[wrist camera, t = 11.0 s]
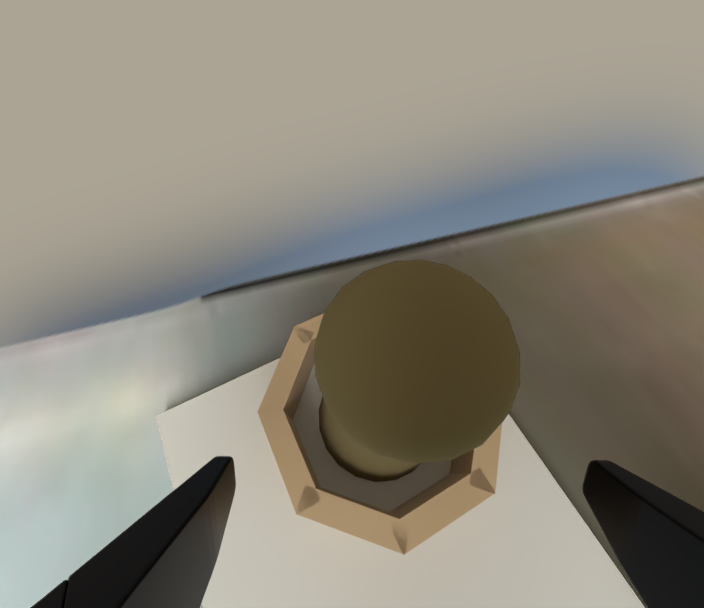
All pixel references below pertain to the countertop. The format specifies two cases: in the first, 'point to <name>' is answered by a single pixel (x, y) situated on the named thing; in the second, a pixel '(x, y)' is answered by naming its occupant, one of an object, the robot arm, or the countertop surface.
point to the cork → (412, 369)
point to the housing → (378, 511)
